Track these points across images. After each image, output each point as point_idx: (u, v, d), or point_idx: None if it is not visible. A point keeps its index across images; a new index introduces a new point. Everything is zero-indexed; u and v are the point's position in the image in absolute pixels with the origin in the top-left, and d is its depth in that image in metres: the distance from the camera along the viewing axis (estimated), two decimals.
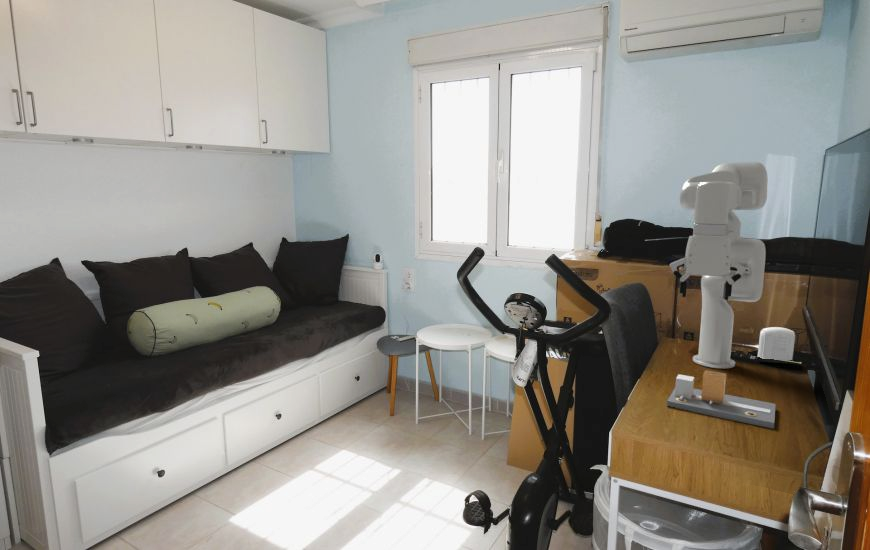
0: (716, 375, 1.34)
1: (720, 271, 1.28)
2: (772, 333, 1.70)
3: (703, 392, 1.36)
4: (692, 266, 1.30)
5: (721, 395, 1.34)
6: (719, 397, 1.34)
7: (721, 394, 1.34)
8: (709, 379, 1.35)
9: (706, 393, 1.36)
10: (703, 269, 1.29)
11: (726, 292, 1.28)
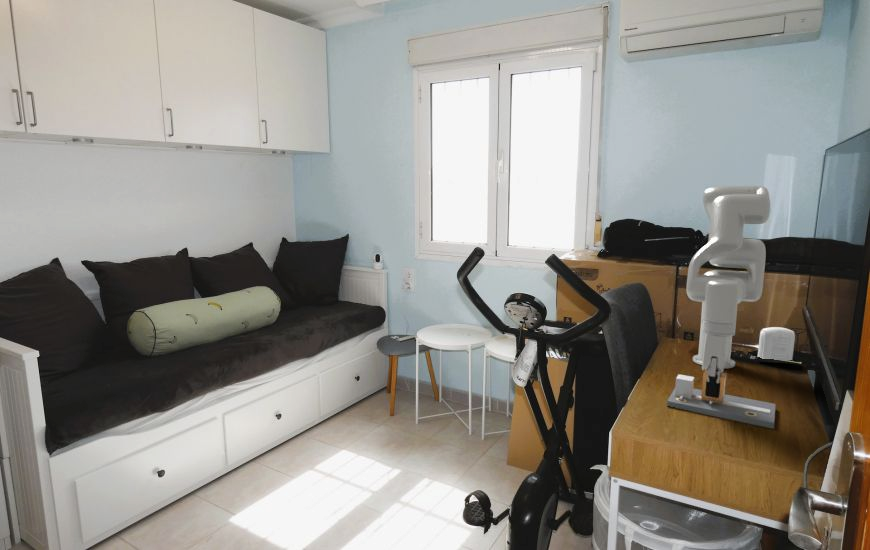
0: None
1: None
2: (772, 333, 1.70)
3: (703, 392, 1.36)
4: (723, 365, 1.31)
5: (721, 395, 1.34)
6: (719, 397, 1.34)
7: (721, 394, 1.34)
8: None
9: None
10: (724, 365, 1.33)
11: None
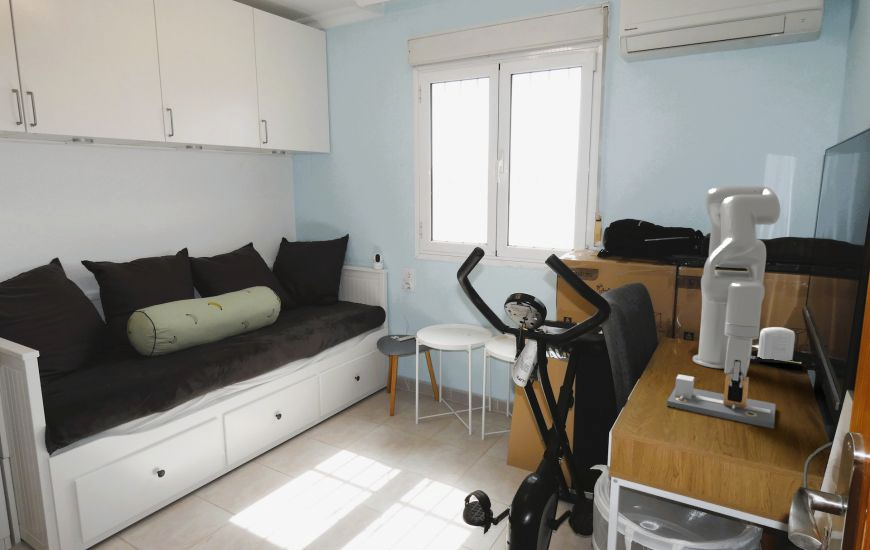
0: None
1: None
2: (772, 333, 1.70)
3: (725, 396, 1.33)
4: (747, 369, 1.28)
5: (744, 399, 1.31)
6: None
7: (744, 398, 1.31)
8: None
9: None
10: None
11: None
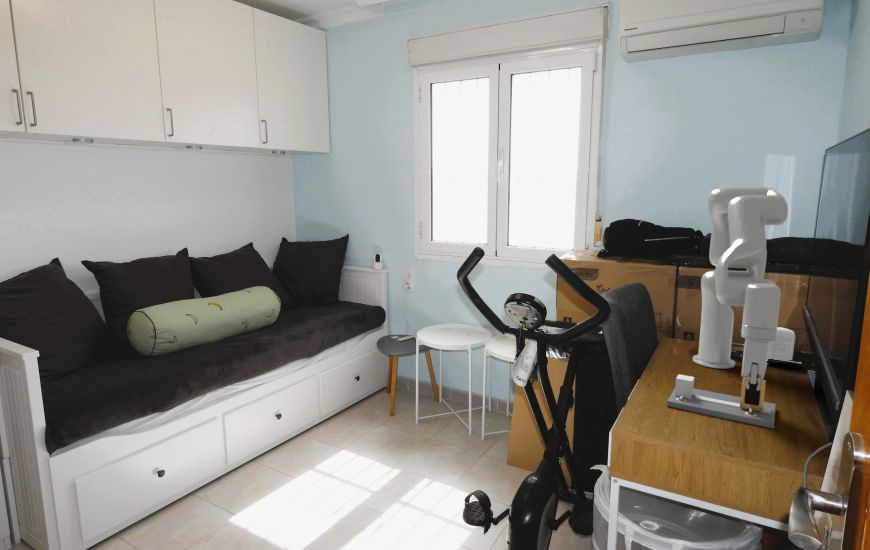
0: None
1: None
2: None
3: (742, 399, 1.31)
4: (764, 371, 1.26)
5: (761, 403, 1.29)
6: (759, 404, 1.29)
7: (761, 402, 1.29)
8: None
9: None
10: None
11: None
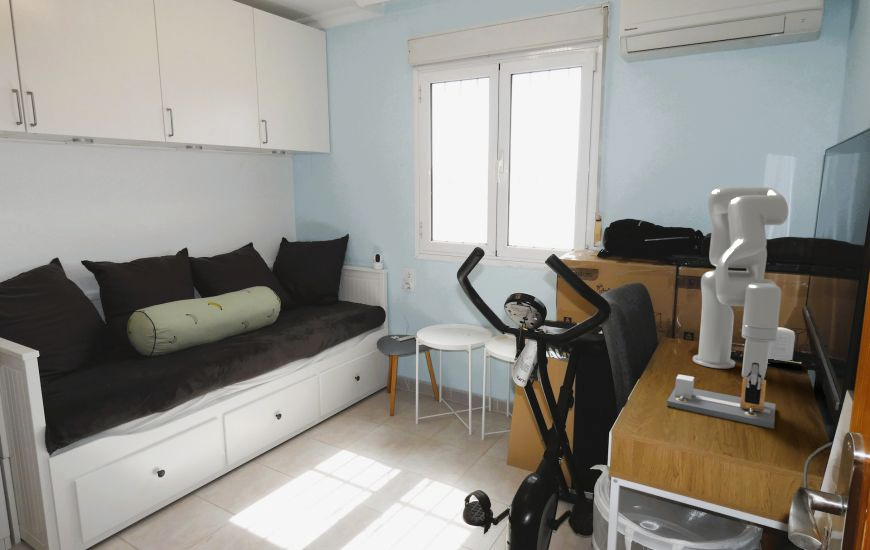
0: None
1: None
2: None
3: (742, 399, 1.31)
4: (765, 371, 1.26)
5: (762, 403, 1.29)
6: (759, 405, 1.29)
7: (762, 402, 1.29)
8: None
9: None
10: None
11: None
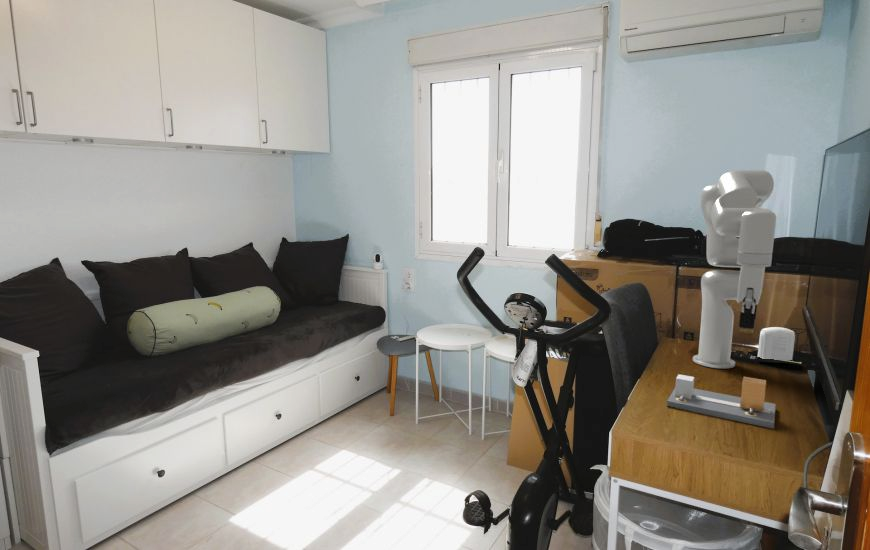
0: (756, 382, 1.29)
1: None
2: (772, 333, 1.70)
3: (742, 399, 1.31)
4: (759, 296, 1.29)
5: (762, 403, 1.29)
6: (759, 405, 1.29)
7: (762, 402, 1.29)
8: (749, 386, 1.30)
9: (746, 400, 1.31)
10: None
11: (755, 312, 1.37)
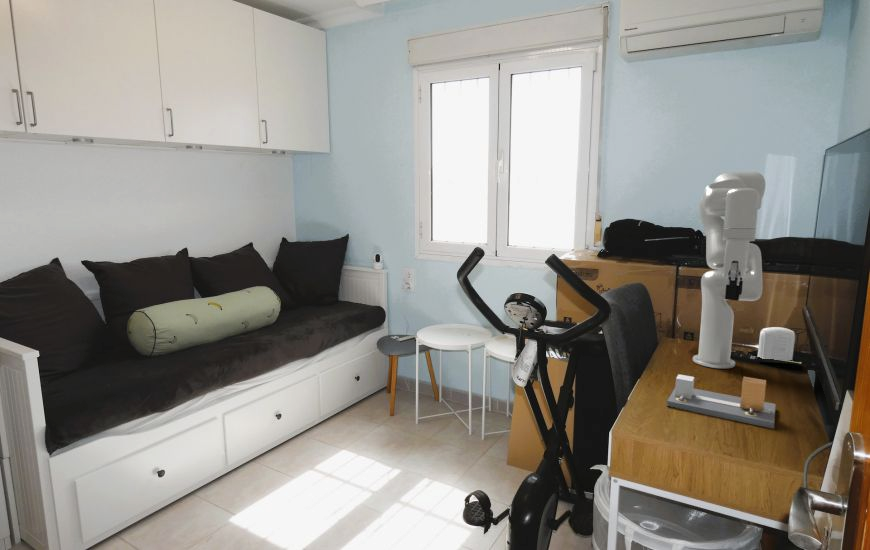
0: (756, 382, 1.29)
1: None
2: (772, 333, 1.70)
3: (742, 399, 1.31)
4: (744, 269, 1.36)
5: (762, 403, 1.29)
6: (759, 405, 1.29)
7: (762, 402, 1.29)
8: (749, 386, 1.30)
9: (746, 400, 1.31)
10: (745, 270, 1.38)
11: (741, 288, 1.44)
